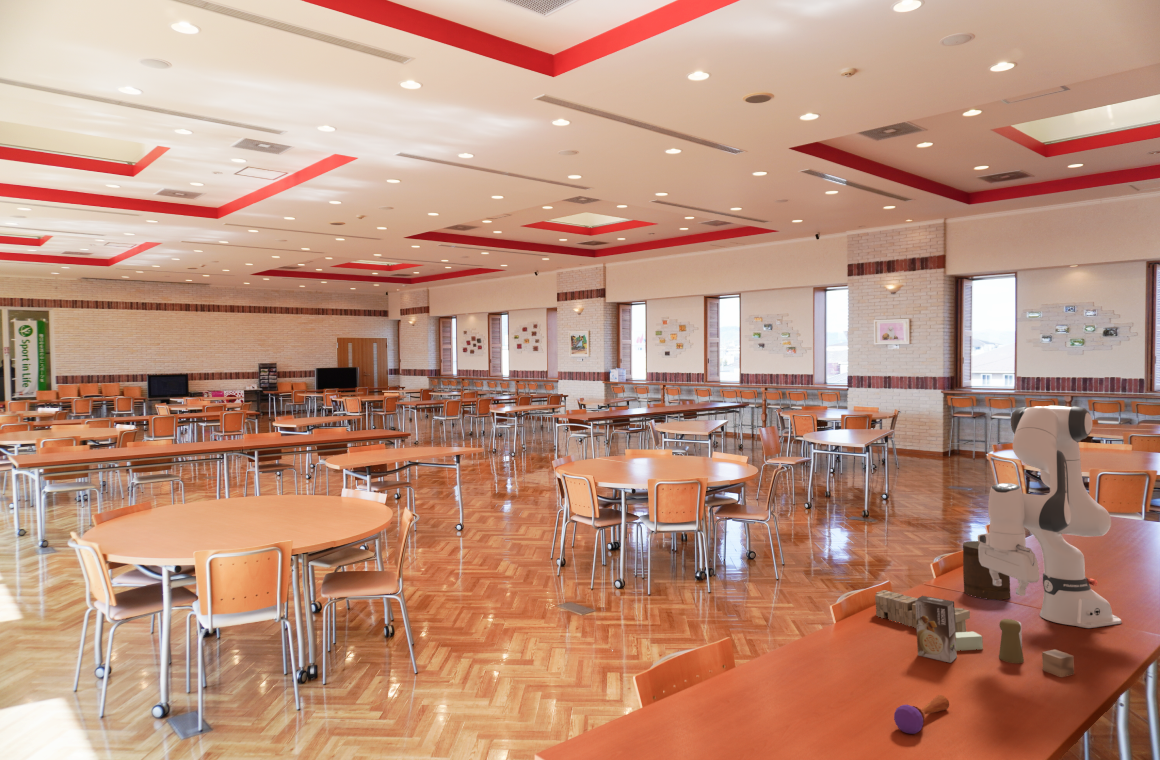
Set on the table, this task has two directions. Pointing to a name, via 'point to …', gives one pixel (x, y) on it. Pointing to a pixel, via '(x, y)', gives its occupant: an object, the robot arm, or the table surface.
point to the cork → (1010, 641)
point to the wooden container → (981, 576)
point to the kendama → (917, 714)
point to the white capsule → (1020, 635)
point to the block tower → (909, 610)
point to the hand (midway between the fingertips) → (1008, 590)
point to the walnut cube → (1058, 663)
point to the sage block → (968, 641)
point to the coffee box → (936, 628)
